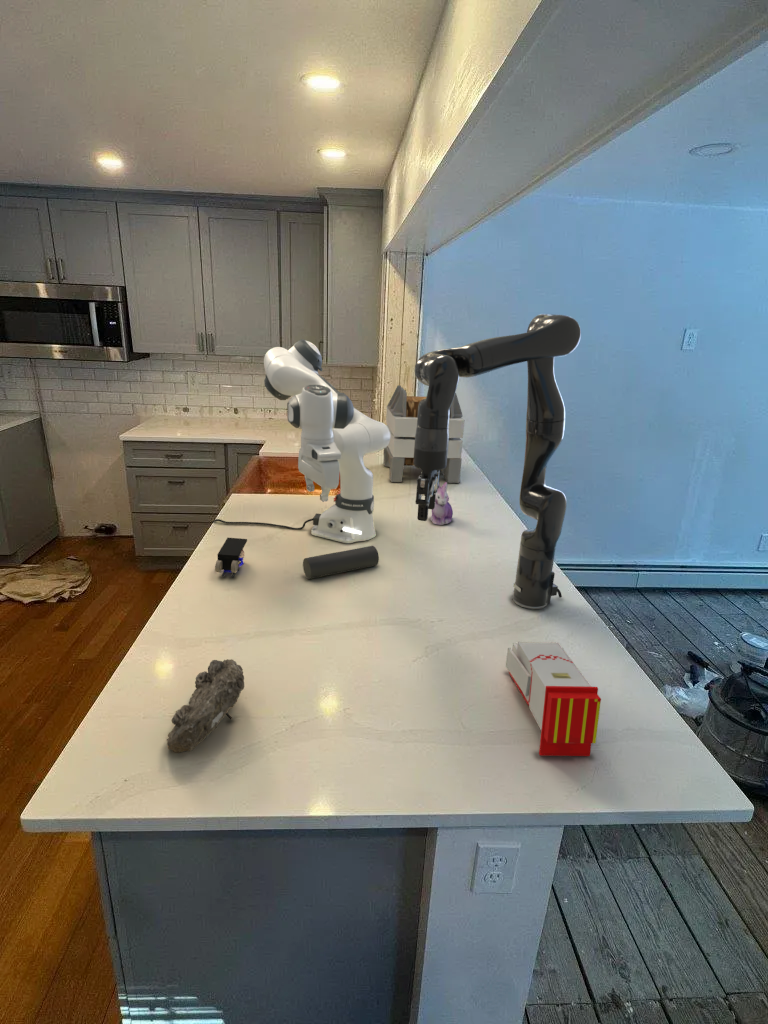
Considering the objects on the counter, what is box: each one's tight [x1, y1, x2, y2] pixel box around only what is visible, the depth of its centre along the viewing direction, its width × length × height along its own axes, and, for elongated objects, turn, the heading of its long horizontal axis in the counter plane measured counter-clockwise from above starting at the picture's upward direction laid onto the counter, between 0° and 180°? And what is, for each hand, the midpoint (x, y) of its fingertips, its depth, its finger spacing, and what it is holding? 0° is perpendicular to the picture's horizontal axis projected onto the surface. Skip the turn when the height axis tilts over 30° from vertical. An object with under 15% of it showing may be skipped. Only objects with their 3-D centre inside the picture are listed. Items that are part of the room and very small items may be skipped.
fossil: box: [166, 658, 245, 754], centre depth 106 cm, size 22×10×15 cm
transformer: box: [383, 384, 465, 484], centre depth 268 cm, size 34×33×41 cm
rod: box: [302, 545, 380, 580], centre depth 169 cm, size 22×6×6 cm, turn 120°
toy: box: [505, 641, 602, 757], centre depth 113 cm, size 12×13×30 cm
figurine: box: [430, 481, 454, 526], centre depth 211 cm, size 9×10×15 cm
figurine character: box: [214, 537, 248, 578], centre depth 166 cm, size 7×8×15 cm
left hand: (317, 495), depth 158 cm, fingers open, 8 cm apart
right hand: (426, 514), depth 132 cm, fingers open, 8 cm apart
